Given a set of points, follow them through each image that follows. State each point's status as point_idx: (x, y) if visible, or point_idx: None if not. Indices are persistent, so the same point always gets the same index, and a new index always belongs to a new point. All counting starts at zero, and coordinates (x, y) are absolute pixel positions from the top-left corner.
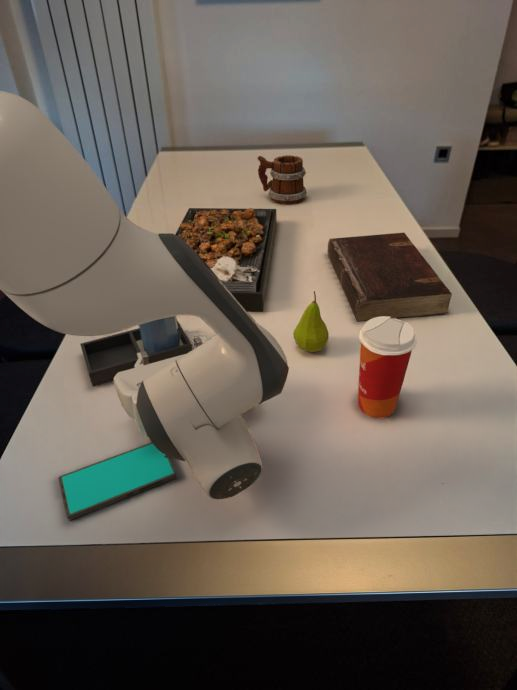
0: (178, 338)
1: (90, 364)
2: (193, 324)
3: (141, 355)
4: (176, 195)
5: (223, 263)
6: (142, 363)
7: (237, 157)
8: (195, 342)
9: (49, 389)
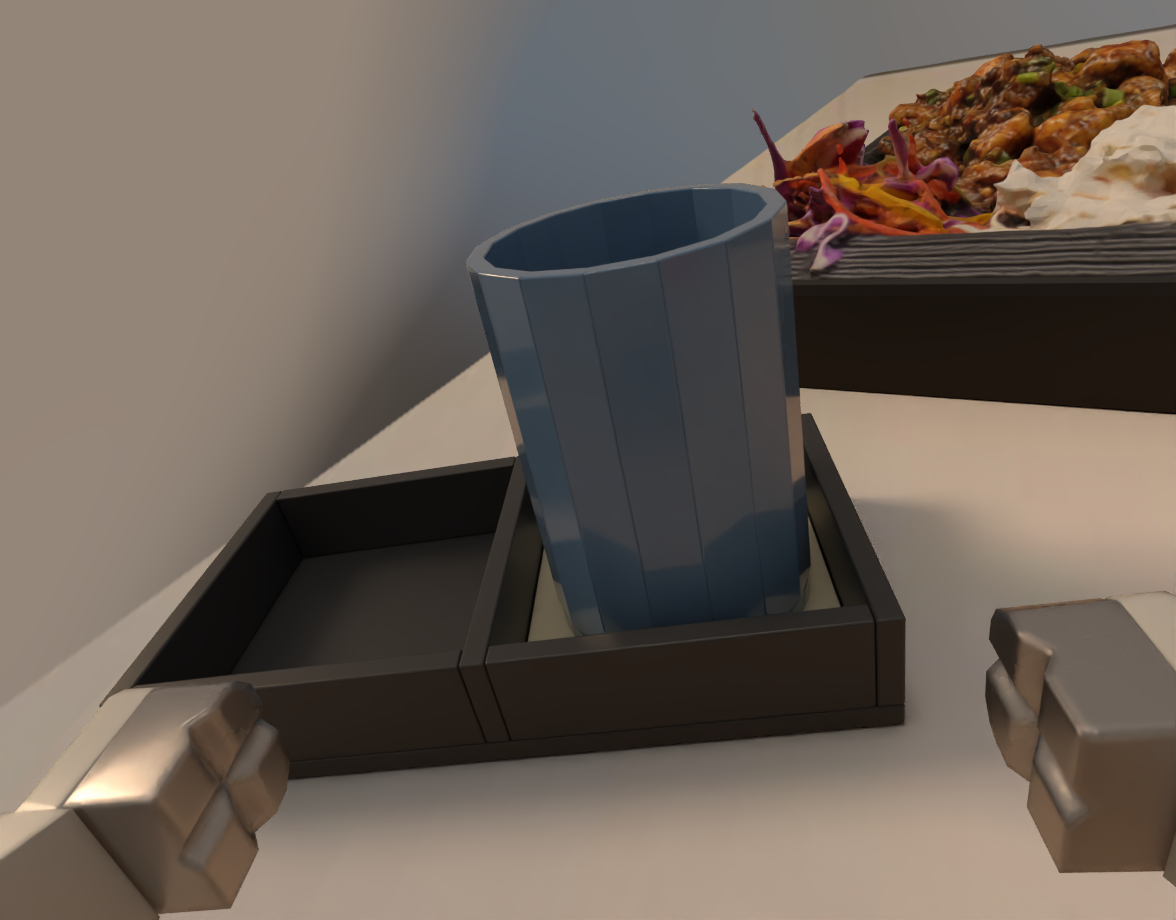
0: (799, 545)
1: (268, 618)
2: (917, 468)
3: (105, 755)
4: (881, 122)
5: (1144, 136)
6: (33, 916)
7: (1070, 52)
8: (1028, 693)
9: (2, 728)
